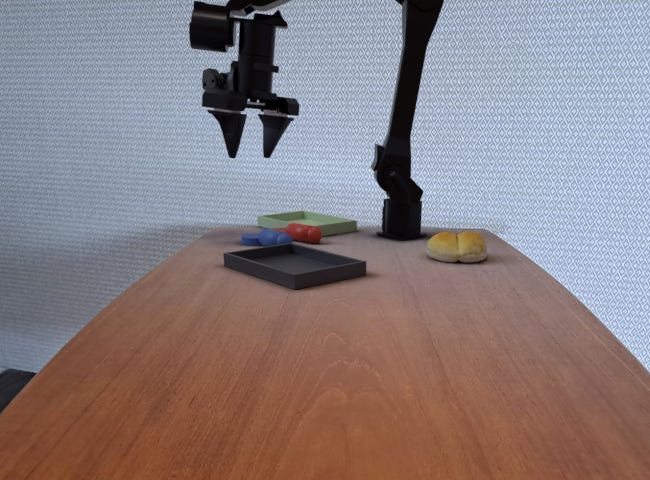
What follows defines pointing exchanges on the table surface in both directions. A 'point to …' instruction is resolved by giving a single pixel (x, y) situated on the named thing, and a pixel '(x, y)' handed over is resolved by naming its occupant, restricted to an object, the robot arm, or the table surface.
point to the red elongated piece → (302, 232)
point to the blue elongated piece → (266, 238)
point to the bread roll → (457, 247)
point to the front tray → (295, 265)
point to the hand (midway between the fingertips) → (249, 158)
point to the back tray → (308, 221)
